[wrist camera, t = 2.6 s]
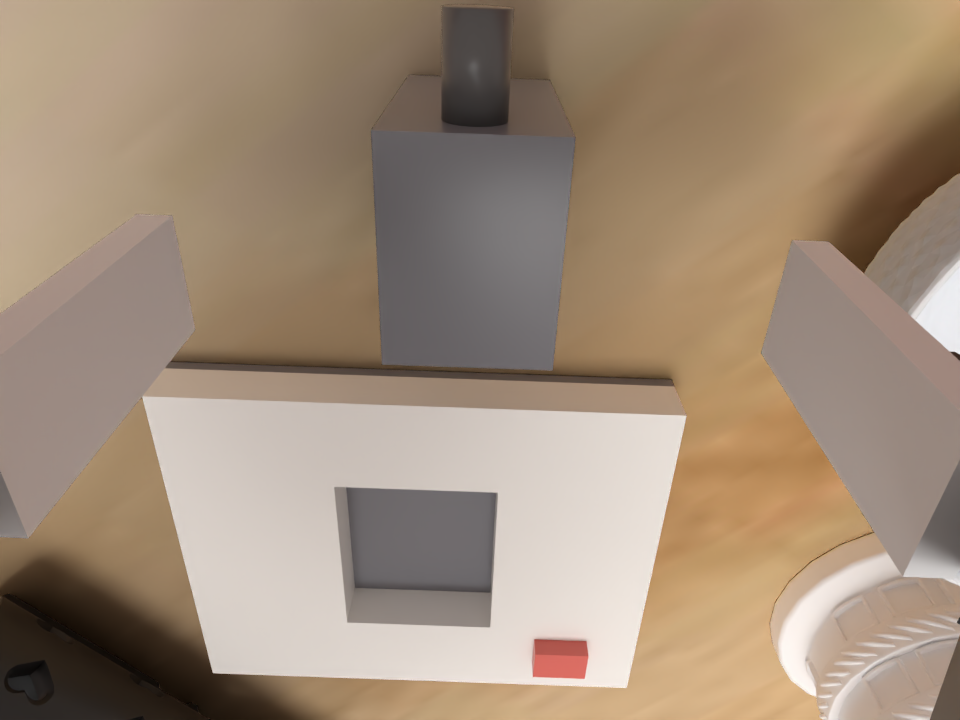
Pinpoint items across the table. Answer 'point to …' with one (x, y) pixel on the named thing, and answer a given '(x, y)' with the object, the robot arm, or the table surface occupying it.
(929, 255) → the cereal bowl
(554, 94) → the plug
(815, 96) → the table surface
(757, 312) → the table surface
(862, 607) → the decorative container
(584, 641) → the socket plate
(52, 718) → the muzzle brake
